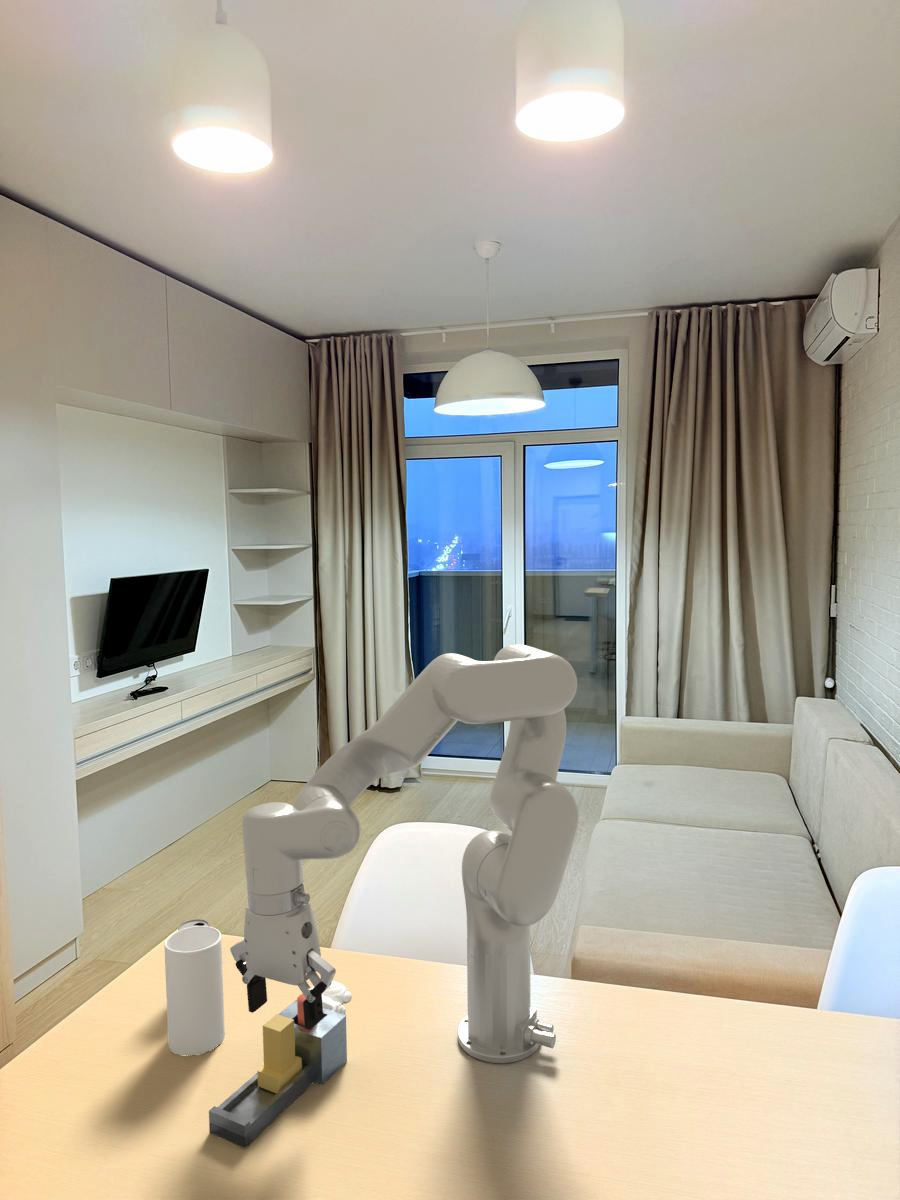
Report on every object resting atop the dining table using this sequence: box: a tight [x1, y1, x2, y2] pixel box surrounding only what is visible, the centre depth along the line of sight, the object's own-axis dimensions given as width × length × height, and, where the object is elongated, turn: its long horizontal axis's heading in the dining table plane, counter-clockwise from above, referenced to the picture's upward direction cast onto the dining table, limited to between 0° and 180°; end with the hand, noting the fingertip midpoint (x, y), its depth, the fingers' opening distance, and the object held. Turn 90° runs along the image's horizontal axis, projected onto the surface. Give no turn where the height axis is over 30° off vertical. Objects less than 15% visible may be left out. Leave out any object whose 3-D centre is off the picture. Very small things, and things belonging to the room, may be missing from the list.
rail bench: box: [208, 999, 348, 1150], centre depth 114 cm, size 9×20×7 cm, turn 152°
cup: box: [163, 926, 226, 1057], centre depth 126 cm, size 8×8×16 cm
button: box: [296, 993, 319, 1029], centre depth 120 cm, size 3×3×5 cm
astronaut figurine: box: [310, 980, 353, 1015], centre depth 135 cm, size 9×12×3 cm
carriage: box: [256, 1013, 302, 1093], centre depth 115 cm, size 4×5×8 cm
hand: (285, 1015), depth 115 cm, fingers open, 9 cm apart
